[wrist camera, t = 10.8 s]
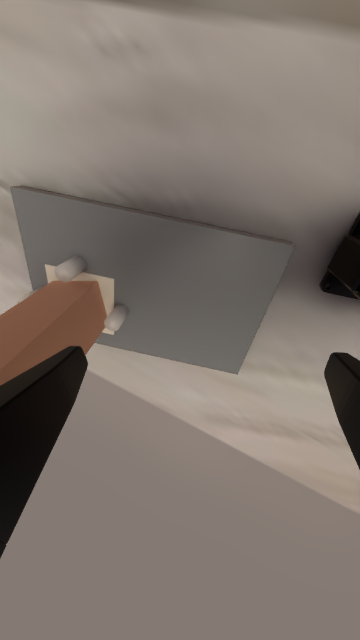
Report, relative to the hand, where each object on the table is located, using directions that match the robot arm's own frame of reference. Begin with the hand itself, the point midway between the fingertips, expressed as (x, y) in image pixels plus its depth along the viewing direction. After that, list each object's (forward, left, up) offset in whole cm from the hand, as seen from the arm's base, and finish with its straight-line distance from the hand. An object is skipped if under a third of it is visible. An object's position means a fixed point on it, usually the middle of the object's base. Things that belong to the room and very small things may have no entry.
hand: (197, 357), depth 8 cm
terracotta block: (+11, +7, -12) cm, 17 cm away
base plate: (+5, +5, -13) cm, 15 cm away
